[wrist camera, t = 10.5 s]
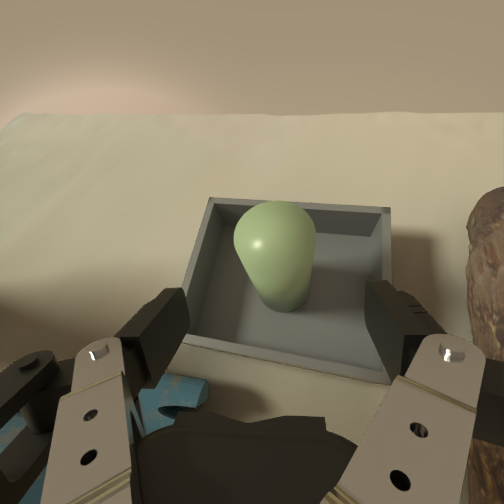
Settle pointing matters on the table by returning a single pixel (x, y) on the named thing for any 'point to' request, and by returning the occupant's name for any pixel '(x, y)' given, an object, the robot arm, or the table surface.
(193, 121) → the table surface
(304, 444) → the robot arm
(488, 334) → the cassava root
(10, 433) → the toy
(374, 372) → the bin
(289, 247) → the pale green rounded knob
